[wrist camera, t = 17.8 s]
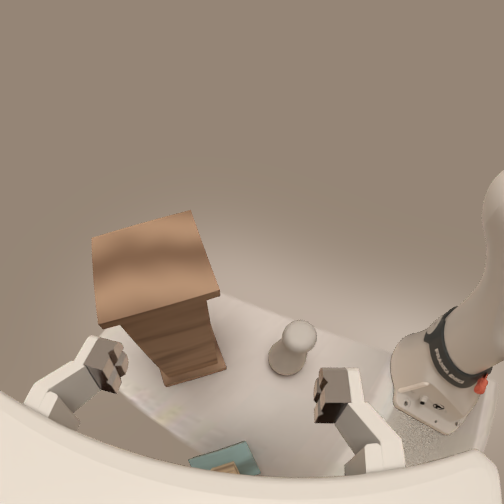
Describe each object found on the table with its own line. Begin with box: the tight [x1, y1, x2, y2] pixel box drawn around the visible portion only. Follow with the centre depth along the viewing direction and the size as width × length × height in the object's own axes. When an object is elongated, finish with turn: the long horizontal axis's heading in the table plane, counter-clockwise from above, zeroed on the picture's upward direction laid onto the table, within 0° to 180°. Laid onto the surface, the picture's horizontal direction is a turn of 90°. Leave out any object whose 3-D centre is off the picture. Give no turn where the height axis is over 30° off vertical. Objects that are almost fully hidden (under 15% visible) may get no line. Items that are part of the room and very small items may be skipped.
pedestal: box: [92, 210, 226, 387], centre depth 34 cm, size 9×10×26 cm
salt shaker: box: [268, 320, 317, 376], centre depth 39 cm, size 6×6×13 cm
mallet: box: [188, 441, 261, 476], centre depth 27 cm, size 17×8×5 cm
